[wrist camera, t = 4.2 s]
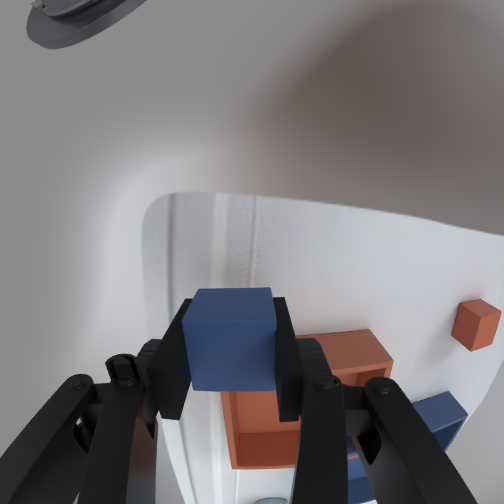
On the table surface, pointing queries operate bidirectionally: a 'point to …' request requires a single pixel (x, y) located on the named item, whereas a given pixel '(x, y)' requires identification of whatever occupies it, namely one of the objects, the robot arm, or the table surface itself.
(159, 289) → the table surface
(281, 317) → the robot arm
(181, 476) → the table surface
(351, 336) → the terracotta bin
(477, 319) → the terracotta block
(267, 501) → the cup
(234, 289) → the blue block
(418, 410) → the blue bin
